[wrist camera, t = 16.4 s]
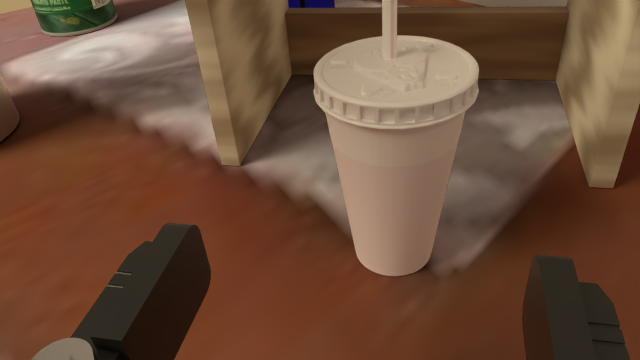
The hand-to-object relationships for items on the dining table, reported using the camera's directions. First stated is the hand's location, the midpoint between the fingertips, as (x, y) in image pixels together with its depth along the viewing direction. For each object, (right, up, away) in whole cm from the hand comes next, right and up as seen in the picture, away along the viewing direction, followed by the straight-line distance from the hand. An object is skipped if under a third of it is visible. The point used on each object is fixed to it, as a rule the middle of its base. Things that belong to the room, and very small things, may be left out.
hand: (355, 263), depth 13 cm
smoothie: (+3, -2, +13) cm, 14 cm away
